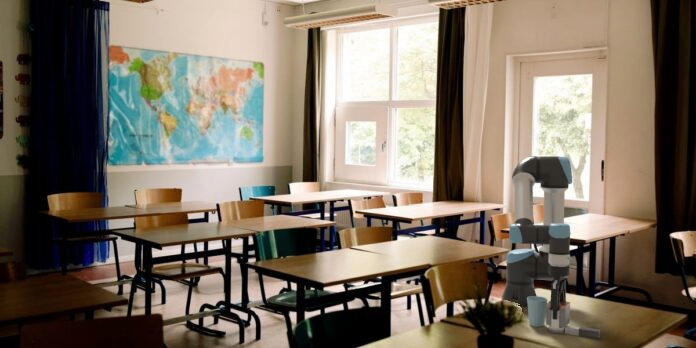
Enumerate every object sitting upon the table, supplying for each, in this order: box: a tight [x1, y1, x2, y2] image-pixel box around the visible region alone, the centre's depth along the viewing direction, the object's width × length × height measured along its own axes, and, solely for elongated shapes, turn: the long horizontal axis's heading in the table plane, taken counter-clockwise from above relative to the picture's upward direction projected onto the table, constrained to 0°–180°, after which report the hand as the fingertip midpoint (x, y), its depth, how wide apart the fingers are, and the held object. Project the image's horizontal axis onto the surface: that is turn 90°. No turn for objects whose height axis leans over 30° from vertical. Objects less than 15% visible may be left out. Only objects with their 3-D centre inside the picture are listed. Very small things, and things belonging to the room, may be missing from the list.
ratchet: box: [548, 325, 601, 340], centre depth 253 cm, size 18×6×8 cm, turn 59°
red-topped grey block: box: [545, 299, 571, 327], centre depth 255 cm, size 7×7×8 cm
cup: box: [527, 295, 548, 328], centre depth 265 cm, size 8×8×10 cm
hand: (557, 324), depth 256 cm, fingers closed on red-topped grey block, 7 cm apart
